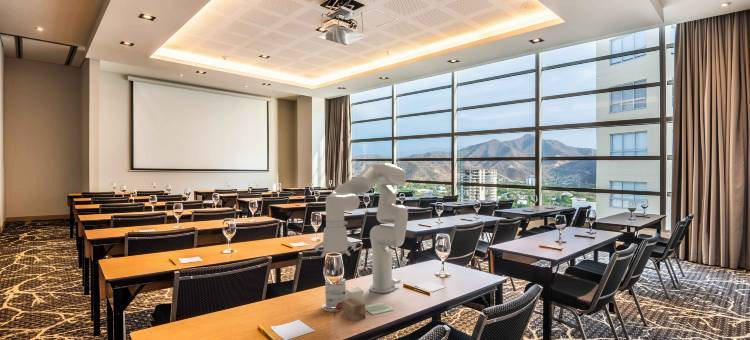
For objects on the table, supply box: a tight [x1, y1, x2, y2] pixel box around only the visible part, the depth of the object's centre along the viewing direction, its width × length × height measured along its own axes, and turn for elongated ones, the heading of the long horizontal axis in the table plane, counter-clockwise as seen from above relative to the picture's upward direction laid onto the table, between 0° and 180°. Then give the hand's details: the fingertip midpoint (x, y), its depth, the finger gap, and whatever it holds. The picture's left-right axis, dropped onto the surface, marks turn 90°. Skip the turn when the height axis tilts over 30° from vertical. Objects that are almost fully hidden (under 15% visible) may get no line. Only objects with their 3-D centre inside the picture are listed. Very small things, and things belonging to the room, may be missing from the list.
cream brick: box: [346, 286, 365, 303], centre depth 178 cm, size 6×6×6 cm
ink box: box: [324, 278, 347, 309], centre depth 174 cm, size 8×5×12 cm, turn 89°
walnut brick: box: [342, 298, 367, 322], centre depth 163 cm, size 6×9×6 cm, turn 30°
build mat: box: [365, 302, 394, 316], centre depth 170 cm, size 10×10×1 cm
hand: (335, 265), depth 165 cm, fingers open, 9 cm apart
